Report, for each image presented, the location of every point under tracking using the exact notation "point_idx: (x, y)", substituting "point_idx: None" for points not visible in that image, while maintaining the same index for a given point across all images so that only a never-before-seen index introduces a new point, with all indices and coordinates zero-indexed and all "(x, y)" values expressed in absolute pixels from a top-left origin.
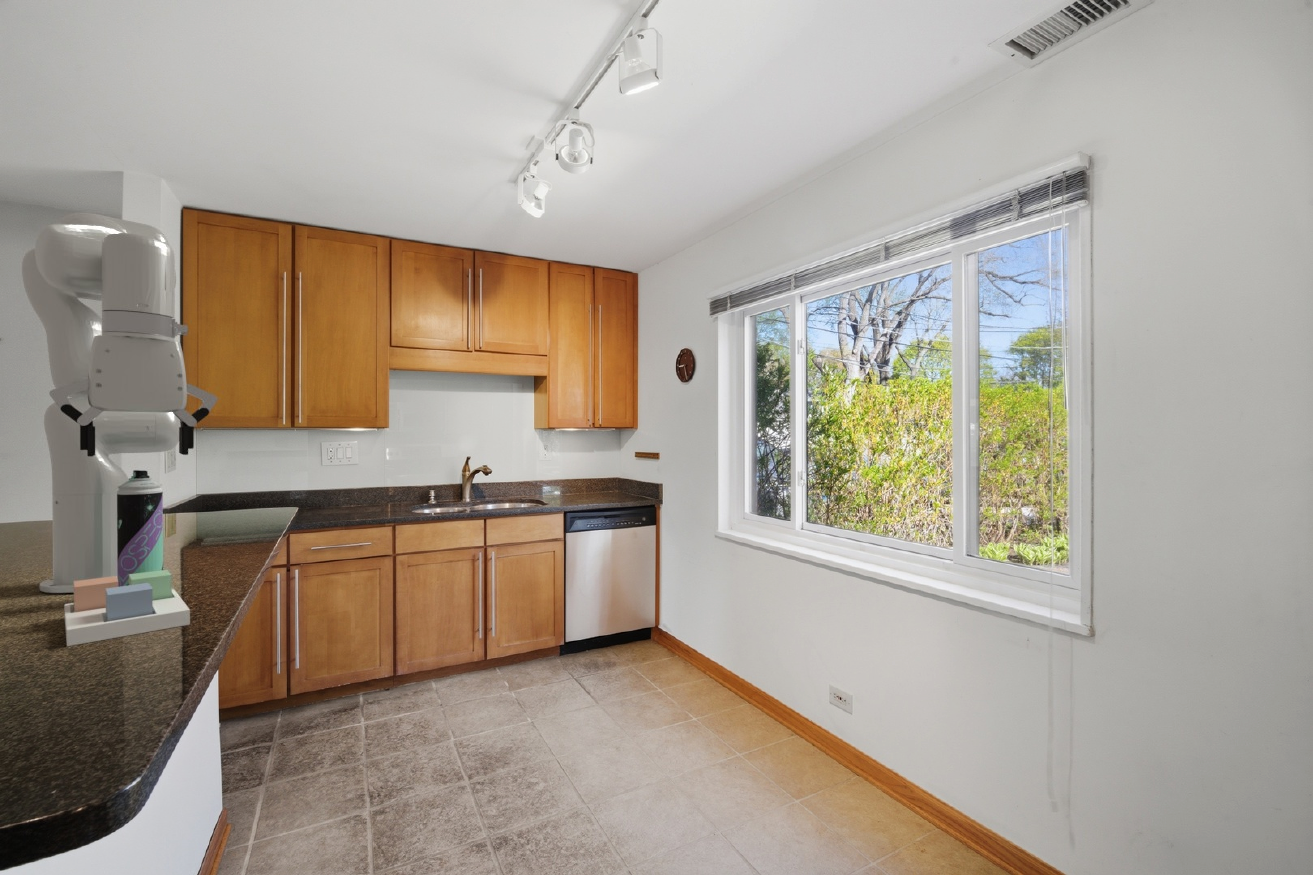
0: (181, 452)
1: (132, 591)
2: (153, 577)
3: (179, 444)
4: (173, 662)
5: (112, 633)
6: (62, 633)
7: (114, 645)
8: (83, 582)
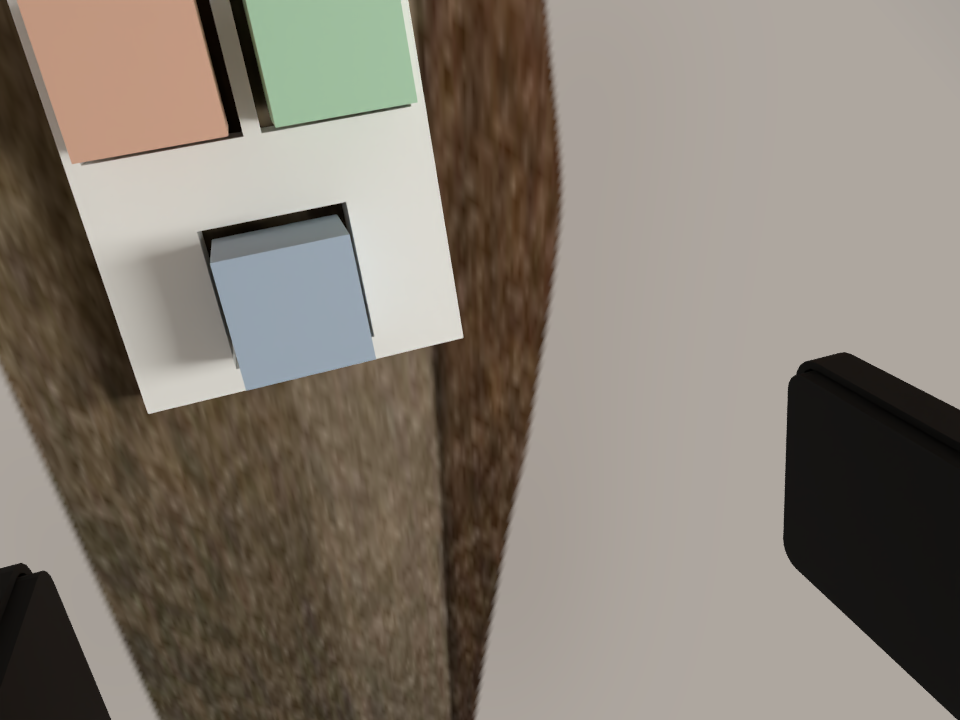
0: (792, 541)
1: (316, 368)
2: (352, 111)
3: (853, 440)
4: (430, 631)
5: None
6: None
7: (281, 442)
8: (75, 61)
